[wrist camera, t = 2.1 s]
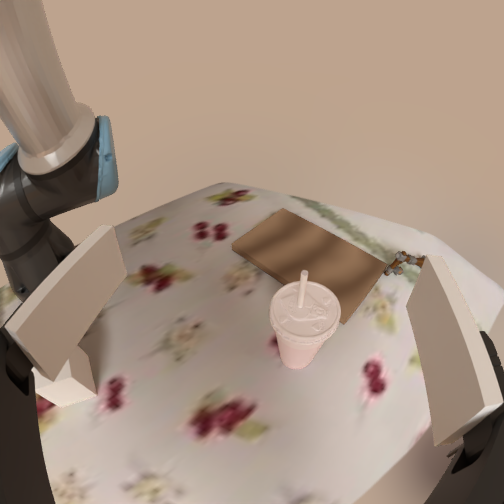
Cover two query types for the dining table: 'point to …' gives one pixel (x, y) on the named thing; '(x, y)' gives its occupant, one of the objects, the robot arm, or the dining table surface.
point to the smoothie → (303, 320)
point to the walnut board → (311, 258)
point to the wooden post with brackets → (400, 259)
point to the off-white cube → (68, 381)
